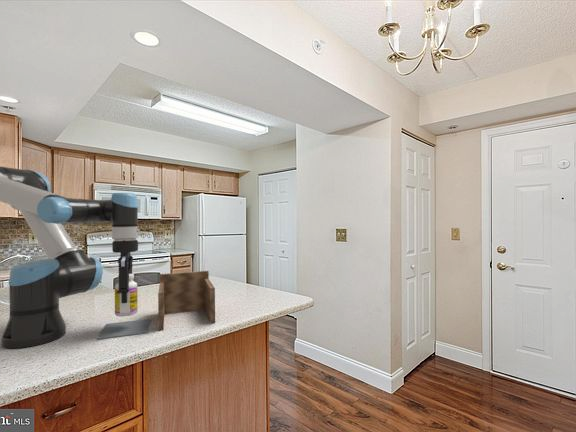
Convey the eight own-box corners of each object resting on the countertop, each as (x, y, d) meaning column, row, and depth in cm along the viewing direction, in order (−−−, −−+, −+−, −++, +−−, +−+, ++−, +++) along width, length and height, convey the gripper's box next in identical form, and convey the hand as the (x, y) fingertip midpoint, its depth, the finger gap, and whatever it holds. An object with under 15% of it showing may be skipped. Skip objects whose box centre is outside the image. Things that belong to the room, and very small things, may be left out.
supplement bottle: (128, 317, 97) (127, 277, 97) (110, 316, 98) (109, 276, 99) (142, 311, 104) (141, 273, 104) (125, 310, 105) (124, 272, 105)
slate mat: (96, 340, 92) (97, 338, 92) (106, 325, 105) (106, 323, 105) (148, 333, 97) (148, 331, 97) (150, 319, 110) (150, 318, 110)
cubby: (158, 330, 99) (158, 284, 99) (160, 313, 117) (159, 274, 117) (215, 323, 106) (214, 279, 106) (208, 307, 124) (208, 270, 124)
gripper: (134, 241, 93) (136, 316, 93) (140, 237, 112) (141, 301, 112) (106, 242, 91) (107, 320, 91) (117, 238, 109) (118, 303, 109)
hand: (126, 309), depth 101 cm, fingers closed on supplement bottle, 7 cm apart
